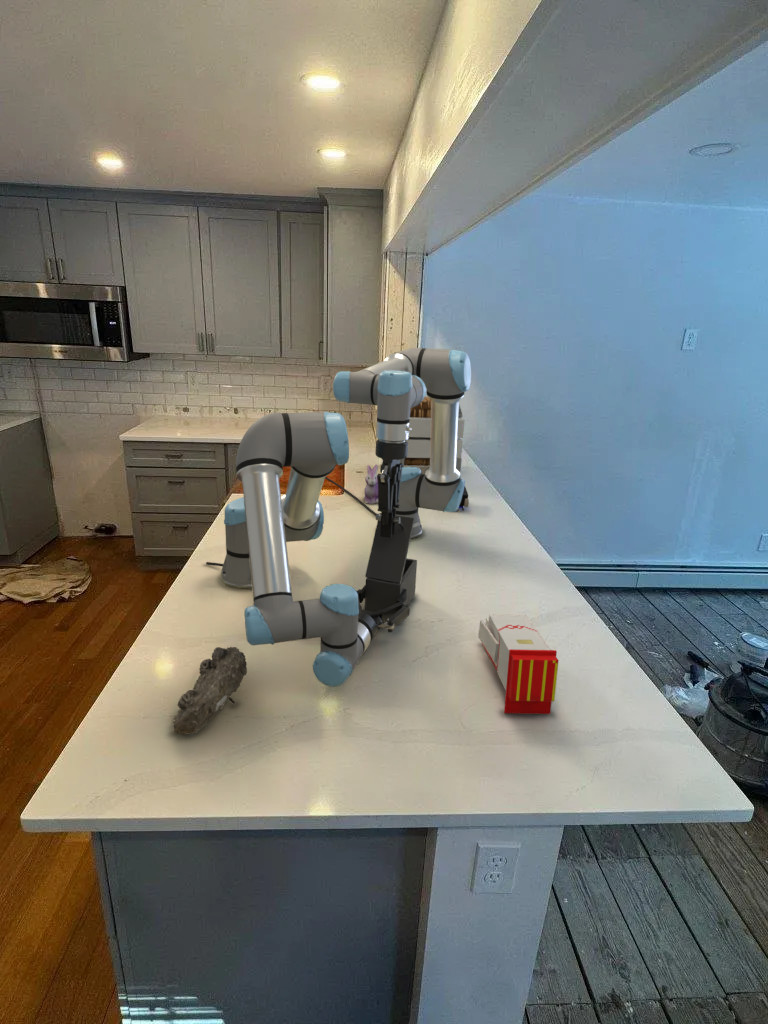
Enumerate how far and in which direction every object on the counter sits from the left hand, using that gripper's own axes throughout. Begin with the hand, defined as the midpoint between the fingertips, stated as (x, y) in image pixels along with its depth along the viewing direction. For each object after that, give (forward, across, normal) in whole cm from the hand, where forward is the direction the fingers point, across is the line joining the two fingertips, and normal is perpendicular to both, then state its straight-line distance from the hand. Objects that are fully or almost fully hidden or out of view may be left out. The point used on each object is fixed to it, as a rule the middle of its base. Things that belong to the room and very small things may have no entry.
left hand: (386, 590), depth 145 cm
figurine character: (+92, +1, -6) cm, 92 cm away
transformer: (+134, -26, -6) cm, 136 cm away
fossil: (-46, -20, -7) cm, 51 cm away
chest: (+4, 0, -7) cm, 8 cm away
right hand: (-2, 0, +16) cm, 16 cm away
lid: (+2, 0, +11) cm, 11 cm away
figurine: (+84, -33, -6) cm, 91 cm away
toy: (-14, +34, -7) cm, 37 cm away
